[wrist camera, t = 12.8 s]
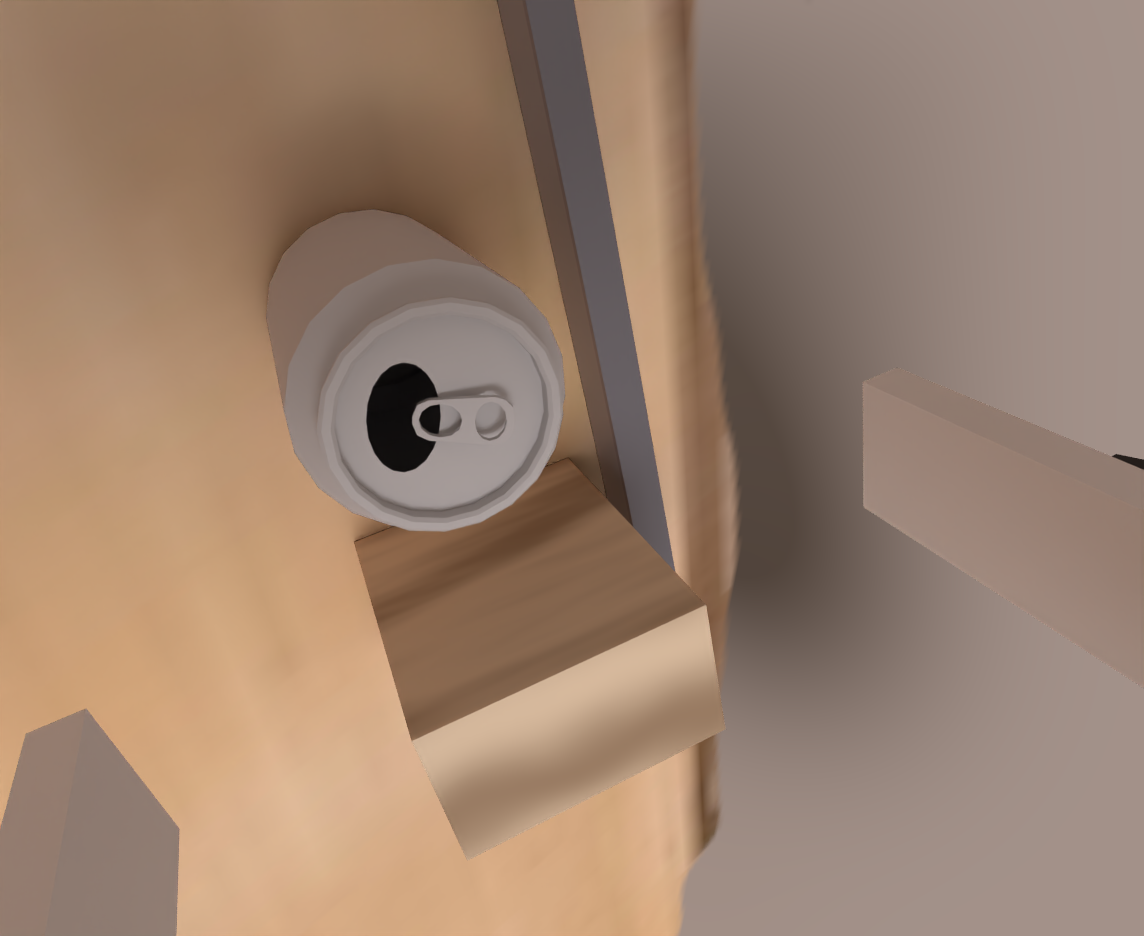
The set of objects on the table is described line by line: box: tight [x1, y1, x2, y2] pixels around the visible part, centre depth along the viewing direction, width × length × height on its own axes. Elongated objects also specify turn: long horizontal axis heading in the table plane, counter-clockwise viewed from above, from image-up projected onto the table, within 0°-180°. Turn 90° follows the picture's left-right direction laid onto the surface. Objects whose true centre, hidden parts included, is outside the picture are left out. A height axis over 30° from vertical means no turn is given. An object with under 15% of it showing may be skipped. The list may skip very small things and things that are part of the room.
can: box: [266, 209, 565, 532], centre depth 24 cm, size 8×8×12 cm
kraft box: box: [354, 458, 725, 861], centre depth 30 cm, size 6×10×12 cm, turn 103°
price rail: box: [497, 0, 675, 571], centre depth 31 cm, size 27×2×3 cm, turn 13°
